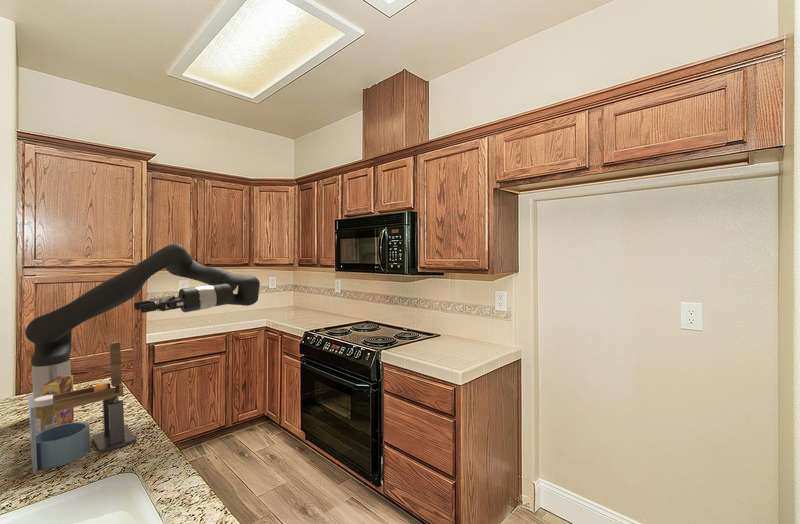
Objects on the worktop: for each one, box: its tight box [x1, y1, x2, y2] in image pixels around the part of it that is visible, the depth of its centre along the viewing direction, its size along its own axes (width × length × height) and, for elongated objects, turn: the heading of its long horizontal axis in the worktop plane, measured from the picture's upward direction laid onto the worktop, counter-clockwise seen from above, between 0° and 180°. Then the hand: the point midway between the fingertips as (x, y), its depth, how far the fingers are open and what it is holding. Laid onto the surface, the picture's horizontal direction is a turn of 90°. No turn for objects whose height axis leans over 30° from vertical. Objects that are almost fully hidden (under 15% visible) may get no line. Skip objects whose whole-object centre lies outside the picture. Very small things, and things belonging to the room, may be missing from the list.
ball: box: [93, 382, 108, 392], centre depth 103 cm, size 3×3×3 cm
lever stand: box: [91, 397, 137, 455], centre depth 105 cm, size 12×8×13 cm, turn 47°
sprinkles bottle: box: [34, 395, 57, 434], centre depth 103 cm, size 5×5×14 cm
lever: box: [53, 341, 125, 412], centre depth 101 cm, size 6×14×16 cm, turn 137°
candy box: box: [42, 374, 75, 426], centre depth 112 cm, size 9×4×15 cm, turn 20°
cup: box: [27, 395, 91, 475], centre depth 97 cm, size 11×11×16 cm
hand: (137, 307), depth 109 cm, fingers open, 8 cm apart
